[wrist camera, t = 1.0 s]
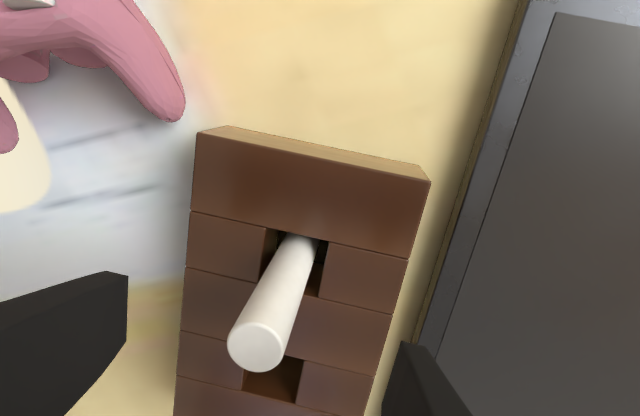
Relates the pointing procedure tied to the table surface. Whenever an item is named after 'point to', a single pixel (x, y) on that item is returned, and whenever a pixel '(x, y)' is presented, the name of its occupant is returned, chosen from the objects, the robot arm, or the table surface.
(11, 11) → the pink curved piece
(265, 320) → the white rounded rod
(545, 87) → the tablet
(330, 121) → the table surface
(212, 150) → the pen holder
